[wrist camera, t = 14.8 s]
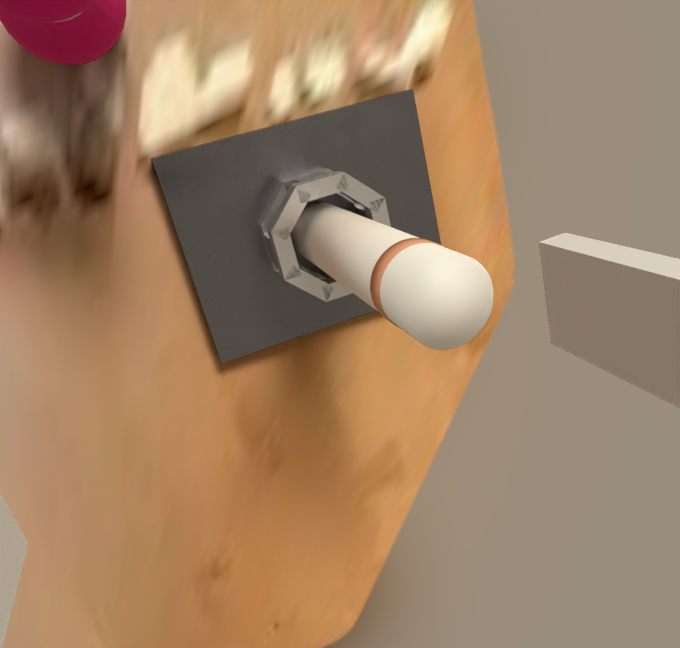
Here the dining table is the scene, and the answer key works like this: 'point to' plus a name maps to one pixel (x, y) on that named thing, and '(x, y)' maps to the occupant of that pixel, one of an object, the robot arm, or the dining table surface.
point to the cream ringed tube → (398, 274)
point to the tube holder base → (291, 214)
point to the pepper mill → (64, 27)
